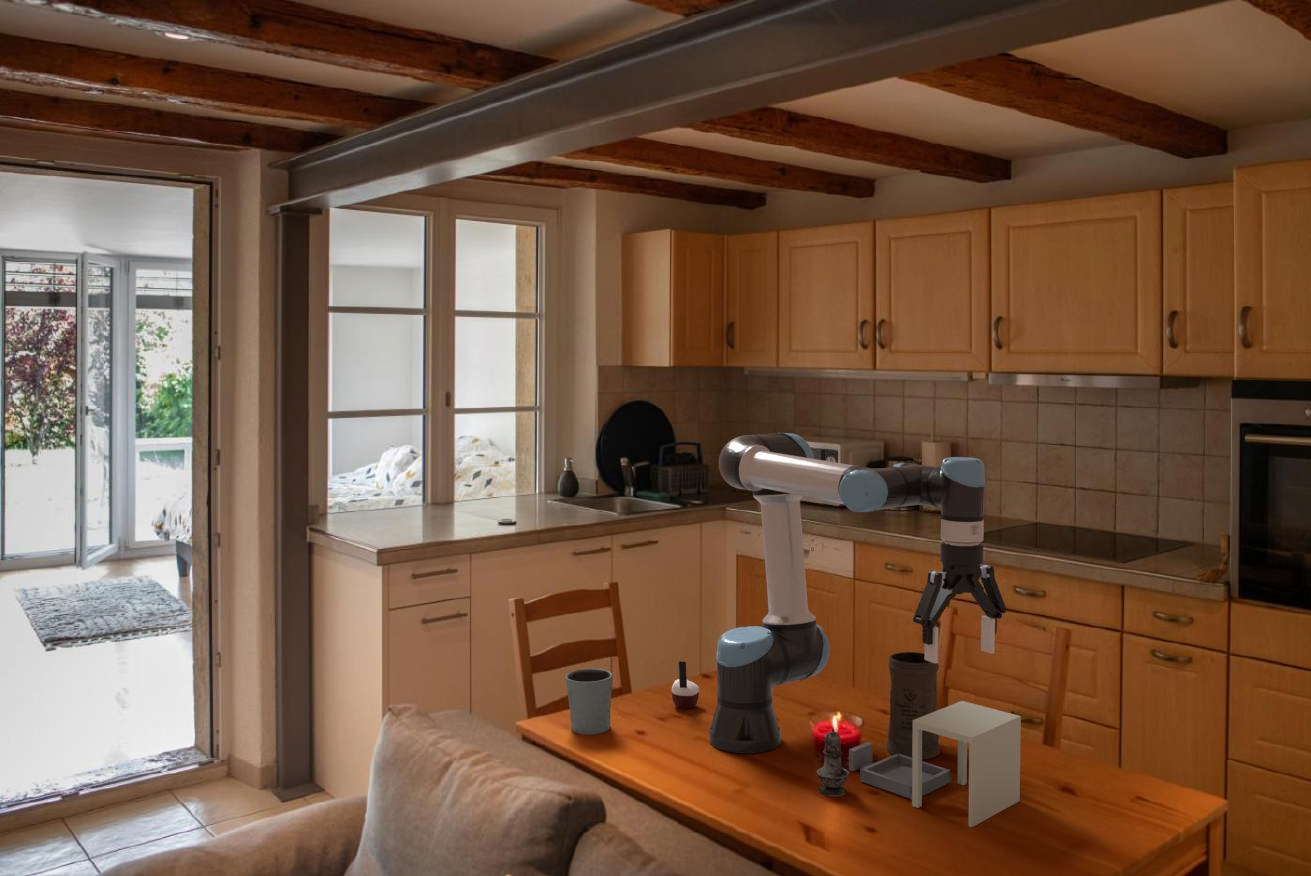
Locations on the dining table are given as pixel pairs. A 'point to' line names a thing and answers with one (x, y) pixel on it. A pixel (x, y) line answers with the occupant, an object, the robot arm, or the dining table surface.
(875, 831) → the dining table surface
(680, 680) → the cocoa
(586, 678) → the grey-blue cup
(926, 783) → the tray
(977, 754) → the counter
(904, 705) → the beer stein
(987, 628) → the robot arm
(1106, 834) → the dining table surface
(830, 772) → the dark grey tall piece
